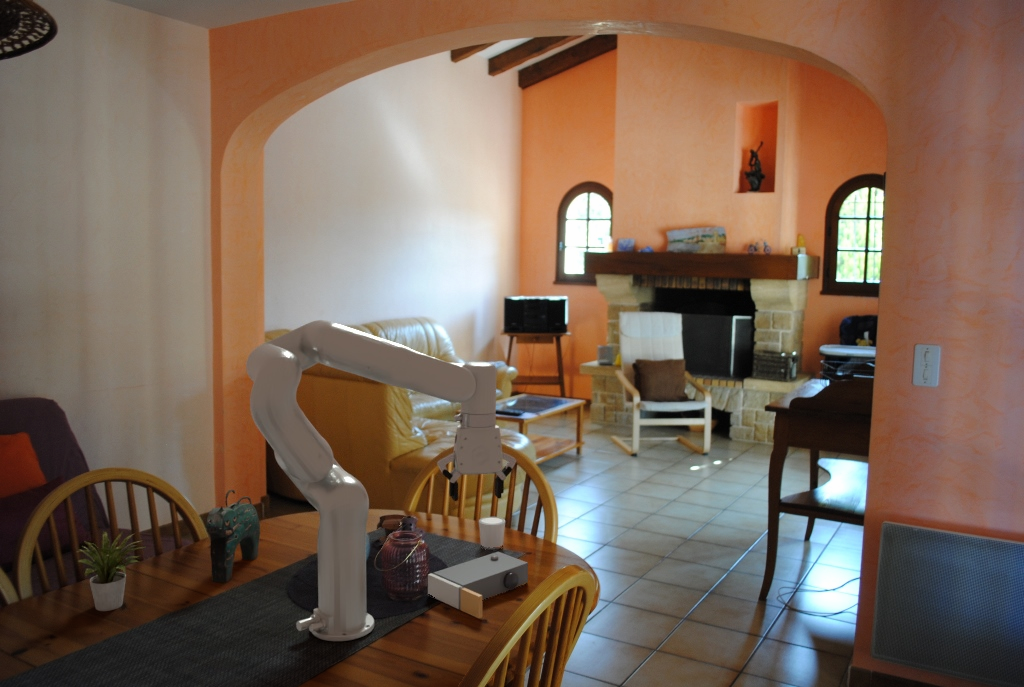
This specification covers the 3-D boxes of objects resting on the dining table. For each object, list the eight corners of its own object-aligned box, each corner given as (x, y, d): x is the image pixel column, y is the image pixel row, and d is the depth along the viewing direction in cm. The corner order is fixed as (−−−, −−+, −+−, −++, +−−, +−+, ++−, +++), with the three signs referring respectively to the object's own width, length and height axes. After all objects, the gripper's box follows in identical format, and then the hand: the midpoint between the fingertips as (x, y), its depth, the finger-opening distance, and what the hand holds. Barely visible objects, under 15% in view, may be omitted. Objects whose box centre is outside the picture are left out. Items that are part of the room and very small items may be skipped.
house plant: (114, 626, 172) (111, 547, 171) (54, 619, 175) (51, 542, 173) (157, 598, 186) (154, 525, 185) (101, 592, 189) (98, 521, 187)
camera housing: (465, 609, 182) (465, 584, 181) (432, 594, 190) (432, 570, 189) (531, 585, 196) (531, 561, 195) (498, 571, 204) (498, 549, 203)
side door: (478, 618, 177) (478, 596, 176) (427, 595, 189) (427, 574, 188) (482, 617, 178) (482, 595, 177) (431, 593, 189) (431, 573, 189)
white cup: (504, 551, 218) (504, 524, 217) (477, 550, 218) (477, 524, 217) (505, 542, 224) (505, 516, 224) (479, 541, 225) (479, 515, 224)
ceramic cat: (226, 586, 193) (224, 500, 191) (200, 584, 194) (197, 498, 192) (265, 555, 213) (263, 477, 211) (241, 554, 214) (239, 476, 212)
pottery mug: (368, 547, 221) (369, 515, 224) (388, 553, 229) (388, 522, 232) (409, 541, 217) (409, 509, 220) (427, 547, 225) (427, 516, 228)
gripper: (442, 424, 177) (440, 505, 178) (521, 422, 181) (519, 500, 183) (434, 418, 184) (433, 495, 185) (511, 415, 189) (509, 491, 190)
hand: (476, 498), depth 184 cm, fingers open, 9 cm apart
